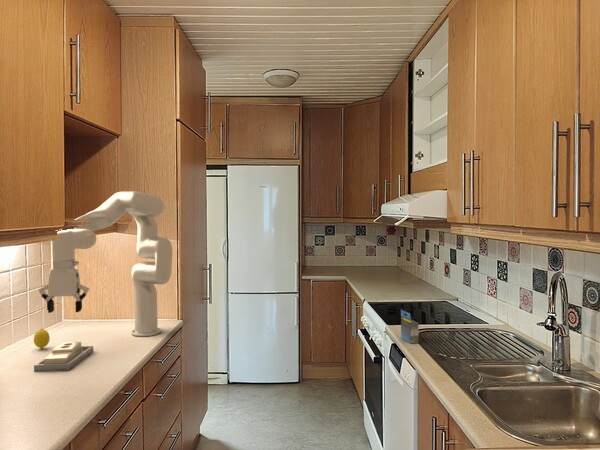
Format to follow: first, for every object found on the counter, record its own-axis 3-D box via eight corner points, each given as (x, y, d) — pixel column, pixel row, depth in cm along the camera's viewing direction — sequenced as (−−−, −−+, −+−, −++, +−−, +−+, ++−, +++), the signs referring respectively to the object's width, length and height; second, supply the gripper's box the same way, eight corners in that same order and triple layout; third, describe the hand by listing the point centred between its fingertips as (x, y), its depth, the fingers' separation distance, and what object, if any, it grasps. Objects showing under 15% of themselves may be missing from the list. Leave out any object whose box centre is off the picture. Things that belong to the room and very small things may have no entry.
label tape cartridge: (419, 343, 201) (419, 313, 201) (410, 344, 200) (410, 313, 200) (408, 337, 210) (408, 308, 210) (400, 338, 209) (400, 309, 209)
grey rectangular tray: (62, 352, 192) (62, 346, 192) (93, 351, 192) (93, 345, 192) (34, 371, 169) (33, 365, 169) (68, 370, 170) (68, 364, 170)
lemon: (50, 346, 200) (50, 326, 200) (48, 350, 195) (48, 329, 195) (35, 347, 198) (34, 327, 198) (32, 351, 193) (32, 331, 193)
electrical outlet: (43, 356, 170) (61, 342, 188) (44, 368, 170) (61, 352, 188) (65, 355, 171) (81, 341, 189) (66, 366, 171) (81, 352, 189)
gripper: (91, 263, 184) (93, 309, 184) (43, 263, 183) (45, 310, 184) (83, 265, 176) (85, 313, 177) (33, 266, 175) (35, 314, 176)
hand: (64, 311), depth 180 cm, fingers open, 9 cm apart
